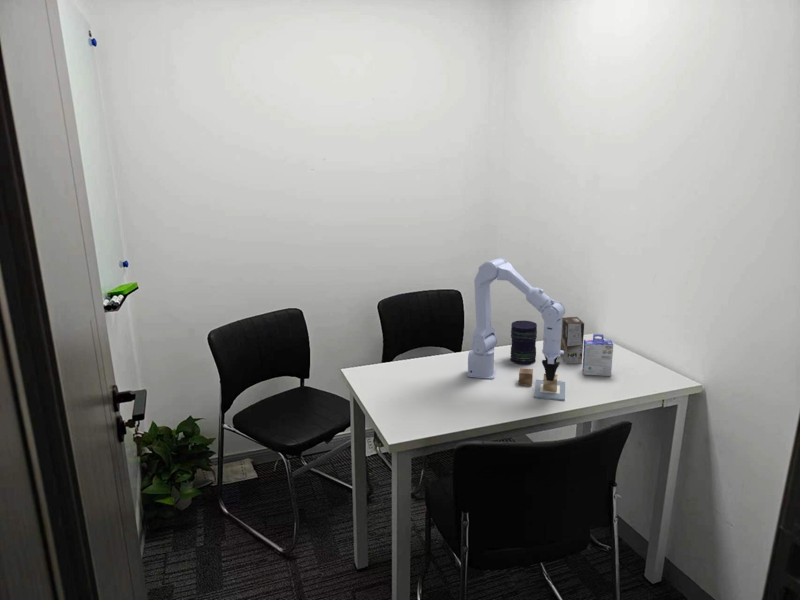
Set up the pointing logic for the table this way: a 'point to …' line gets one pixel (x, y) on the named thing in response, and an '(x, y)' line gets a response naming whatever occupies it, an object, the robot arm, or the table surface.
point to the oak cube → (550, 384)
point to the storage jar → (523, 342)
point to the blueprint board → (547, 394)
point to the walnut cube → (525, 376)
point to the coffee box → (572, 339)
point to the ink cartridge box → (597, 356)
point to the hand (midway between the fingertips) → (550, 375)
